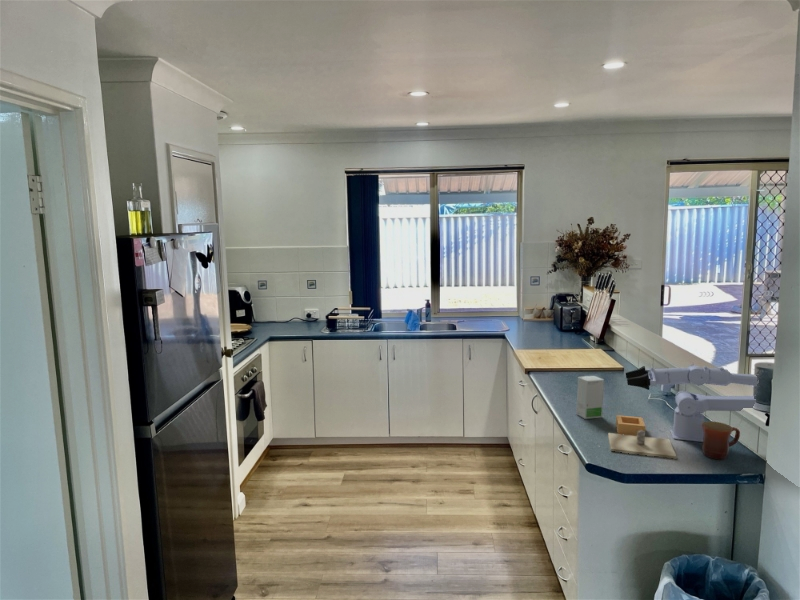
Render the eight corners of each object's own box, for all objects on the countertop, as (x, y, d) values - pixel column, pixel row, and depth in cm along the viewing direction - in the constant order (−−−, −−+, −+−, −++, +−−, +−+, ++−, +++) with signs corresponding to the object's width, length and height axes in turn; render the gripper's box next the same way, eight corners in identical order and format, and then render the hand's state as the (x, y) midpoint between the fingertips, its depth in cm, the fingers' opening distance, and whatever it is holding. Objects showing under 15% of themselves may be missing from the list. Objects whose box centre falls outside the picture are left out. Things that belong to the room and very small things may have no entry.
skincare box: (584, 419, 207) (586, 381, 204) (574, 413, 213) (576, 376, 211) (603, 417, 209) (605, 379, 207) (592, 411, 215) (594, 374, 213)
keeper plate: (668, 442, 185) (670, 426, 184) (676, 459, 172) (677, 442, 171) (608, 435, 191) (608, 420, 190) (610, 451, 178) (611, 435, 177)
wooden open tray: (641, 427, 198) (642, 417, 198) (644, 436, 190) (645, 426, 189) (615, 424, 201) (616, 414, 200) (617, 434, 192) (618, 423, 192)
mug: (709, 462, 170) (712, 431, 168) (693, 450, 178) (696, 421, 177) (746, 461, 170) (748, 431, 169) (728, 449, 179) (731, 420, 177)
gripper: (663, 360, 195) (624, 362, 200) (669, 371, 182) (626, 374, 186) (665, 378, 196) (626, 380, 201) (671, 391, 182) (628, 393, 187)
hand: (626, 378), depth 194 cm, fingers open, 7 cm apart
